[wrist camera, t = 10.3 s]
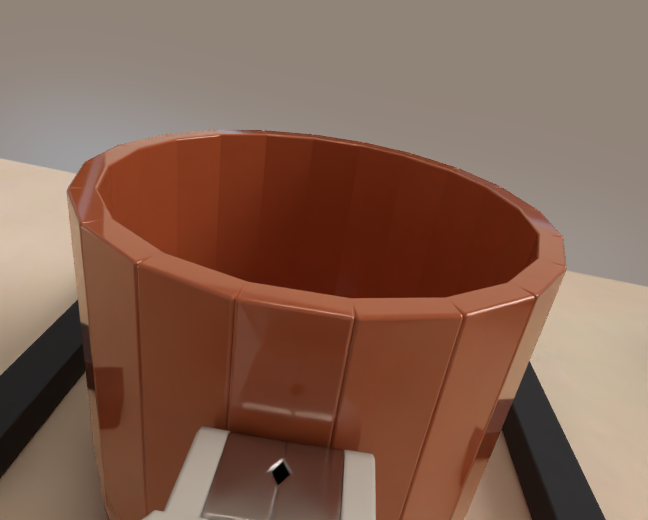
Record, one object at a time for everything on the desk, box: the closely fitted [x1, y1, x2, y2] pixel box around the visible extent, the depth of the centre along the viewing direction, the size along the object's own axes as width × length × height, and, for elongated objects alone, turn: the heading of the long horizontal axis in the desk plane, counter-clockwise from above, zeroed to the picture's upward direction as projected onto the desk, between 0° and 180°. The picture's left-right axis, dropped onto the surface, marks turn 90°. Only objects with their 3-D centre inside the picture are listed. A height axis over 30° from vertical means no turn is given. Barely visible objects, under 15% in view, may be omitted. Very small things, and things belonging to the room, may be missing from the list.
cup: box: [67, 130, 566, 520], centre depth 14 cm, size 11×11×8 cm
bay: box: [0, 300, 605, 520], centre depth 19 cm, size 14×18×1 cm
